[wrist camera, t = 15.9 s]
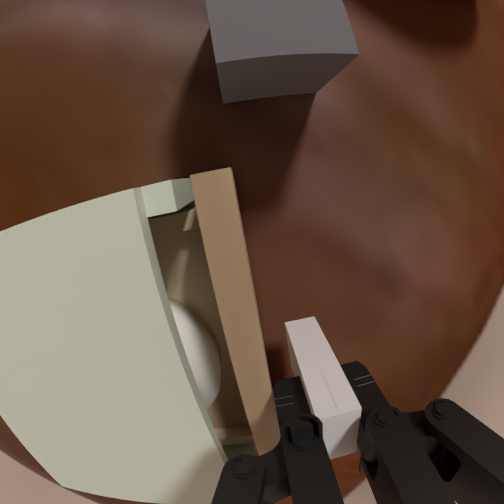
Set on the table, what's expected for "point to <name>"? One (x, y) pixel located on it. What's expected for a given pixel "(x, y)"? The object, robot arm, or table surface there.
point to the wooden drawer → (221, 304)
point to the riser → (278, 46)
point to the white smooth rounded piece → (199, 350)
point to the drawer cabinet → (104, 354)
